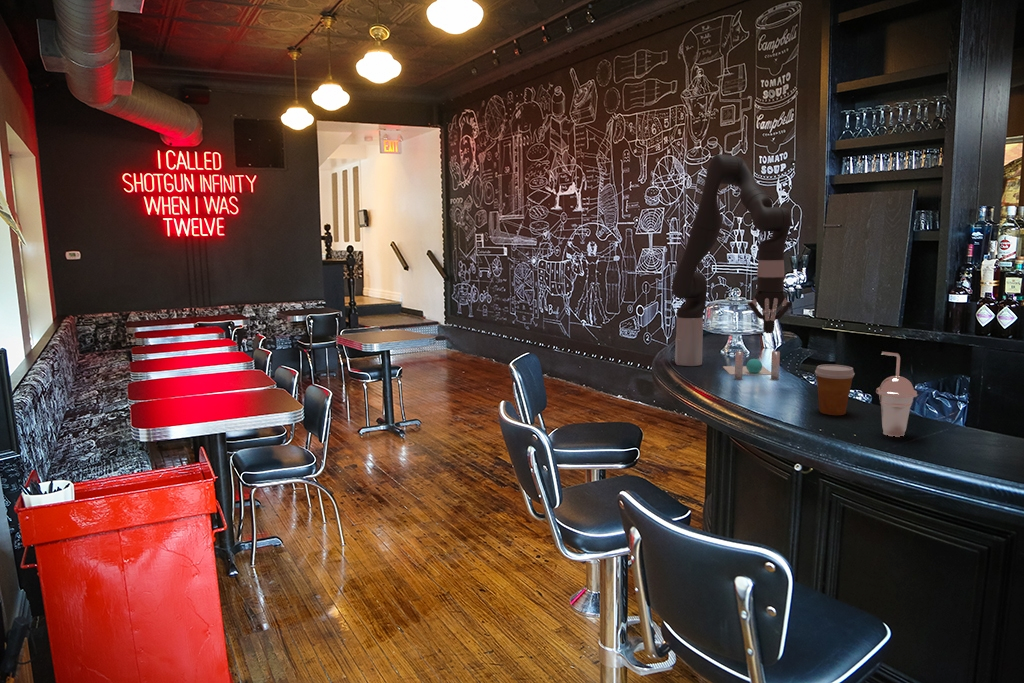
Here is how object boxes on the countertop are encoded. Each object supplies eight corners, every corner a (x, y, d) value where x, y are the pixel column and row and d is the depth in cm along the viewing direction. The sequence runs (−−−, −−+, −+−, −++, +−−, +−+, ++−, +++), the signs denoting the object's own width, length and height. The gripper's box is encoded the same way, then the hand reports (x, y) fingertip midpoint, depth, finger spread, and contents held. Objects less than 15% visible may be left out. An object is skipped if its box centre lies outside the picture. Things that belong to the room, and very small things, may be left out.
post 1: (735, 379, 227) (736, 352, 226) (733, 378, 230) (734, 351, 228) (743, 379, 227) (743, 352, 226) (741, 378, 229) (742, 351, 228)
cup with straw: (920, 440, 160) (926, 353, 157) (877, 438, 161) (883, 352, 158) (906, 429, 168) (912, 347, 165) (866, 428, 170) (870, 346, 167)
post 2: (771, 380, 226) (772, 352, 225) (770, 378, 228) (771, 351, 227) (779, 380, 226) (780, 352, 224) (777, 378, 228) (778, 351, 227)
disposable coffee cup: (804, 410, 188) (806, 366, 186) (831, 406, 191) (833, 363, 190) (833, 418, 179) (836, 372, 177) (860, 414, 183) (863, 368, 181)
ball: (745, 360, 240) (745, 374, 239) (747, 357, 235) (747, 371, 234) (760, 360, 239) (761, 375, 237) (763, 357, 234) (763, 372, 233)
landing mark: (730, 374, 235) (730, 374, 235) (722, 366, 249) (722, 366, 249) (773, 374, 234) (773, 374, 234) (763, 366, 247) (763, 366, 247)
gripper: (790, 274, 213) (787, 331, 215) (745, 274, 214) (743, 331, 217) (797, 275, 205) (794, 334, 208) (750, 276, 207) (748, 334, 209)
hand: (768, 332), depth 212 cm, fingers closed
